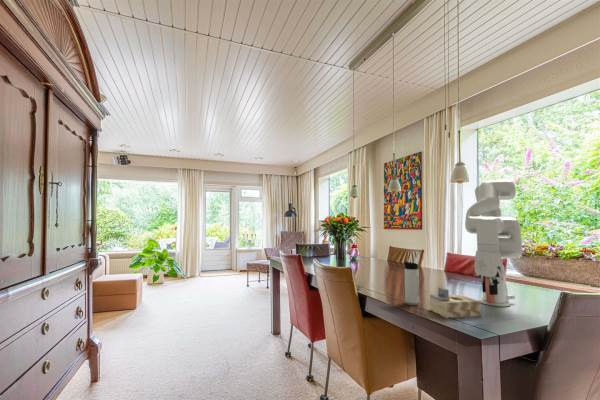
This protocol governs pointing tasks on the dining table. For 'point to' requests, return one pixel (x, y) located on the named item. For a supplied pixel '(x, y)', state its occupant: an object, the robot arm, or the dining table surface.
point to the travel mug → (411, 283)
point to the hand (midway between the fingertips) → (490, 292)
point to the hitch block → (456, 306)
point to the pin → (488, 297)
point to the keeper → (441, 294)
